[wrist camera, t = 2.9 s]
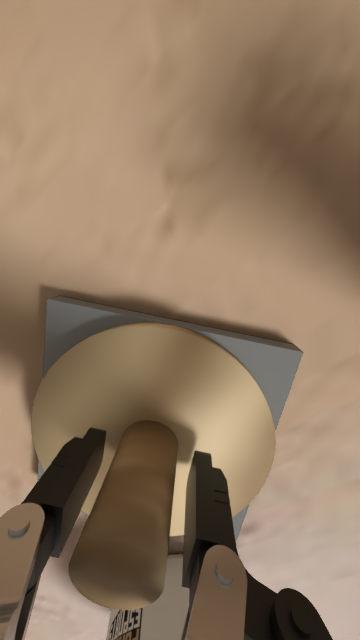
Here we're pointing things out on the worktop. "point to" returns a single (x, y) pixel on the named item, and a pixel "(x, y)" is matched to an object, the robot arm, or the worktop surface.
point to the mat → (254, 352)
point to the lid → (149, 445)
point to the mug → (155, 611)
